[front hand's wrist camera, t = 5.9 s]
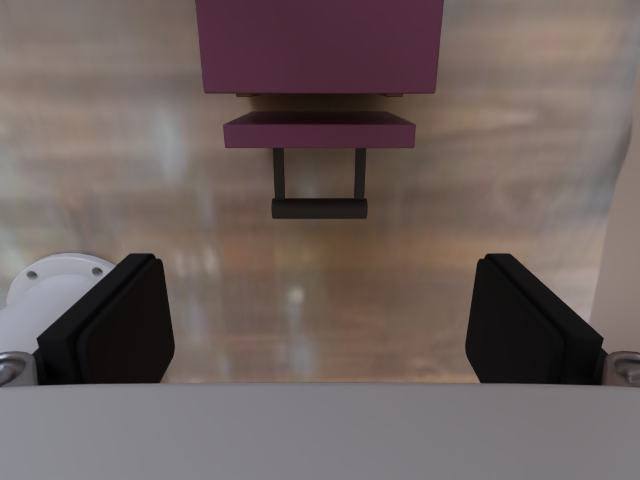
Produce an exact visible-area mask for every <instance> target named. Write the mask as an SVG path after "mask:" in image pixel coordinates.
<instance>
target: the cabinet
mask: <svg viewBox="0 0 640 480" xmlns="http://www.w3.org/2000/svg"><path fill="white" fill-rule="evenodd" d="M195 2H196V12H197V23H198V34H199V45H200V55H201V66H202V77H203V88H204V93H266V94H433V93H435V89H436V78H437V67H438V56H439V46H440V35H441V24H442V14H443V3H444V0H195Z"/></svg>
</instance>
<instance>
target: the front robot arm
mask: <svg viewBox="0 0 640 480" xmlns="http://www.w3.org/2000/svg"><path fill="white" fill-rule="evenodd" d="M603 339H604V338H603V337H602V336H601V335H600V334H598V333H597V332H596V331H595V330H594V329H593V328H592V327H591V326H590V325H588V324H587V323H586V322H585V321H584V320H583V319H582V318H581V317H580V316H579V315H577V314H576V313H575V312H574V311H573V310H572V309H571V308H570V307H569V306H567V305H566V304H565V303H564V302H563V301H562V300H561V299H560V298H559V297H558V296H556V295H555V294H554V293H553V292H552V291H551V290H550V289H549V288H548V287H546V286H545V285H544V284H543V283H542V282H541V281H540V280H539V279H538V278H536V277H535V276H534V275H533V274H532V273H531V272H530V271H529V270H528V269H527V268H525V267H524V266H523V265H522V264H521V263H520V262H519V261H518V260H517V259H515V258H514V257H513V256H512V255H511V254H487V255H486V256H485V258H484V259H479V261H478V263H477V268H476V275H475V282H474V289H473V296H472V302H471V309H470V316H469V323H468V330H467V337H466V344H465V350H466V355H467V358H468V360H469V362H470V364H471V366H472V368H473V369H474V371H475V373H476V375H477V377H478V379H479V381H480V383H358V382H298V383H160V381H161V379H162V377H163V375H164V373H165V371H166V369H167V368H168V366H169V364H170V362H171V360H172V358H173V355H174V350H175V344H174V337H173V330H172V323H171V316H170V309H169V302H168V296H167V289H166V282H165V275H164V268H163V263H162V261H161V259H156V258H155V256H154V255H153V254H129V255H128V256H127V257H126V258H125V259H123V260H122V261H121V262H120V263H119V264H118V265H117V266H116V265H114V264H112V263H110V262H109V261H106V260H103V259H101V258H98V257H95V256H91V255H86V254H81V253H62V254H56V255H51V256H48V257H45V258H43V259H40V260H38V261H37V262H35V263H33V264H32V265H30V266H28V267H27V268H26V269H25V270H23V271H22V272H21V273H20V274H19V275H18V276H17V277H16V279H15V280H14V281H13V283H12V284H11V287H10V289H9V292H8V294H7V302H6V307H4V308H3V309H2V310H0V480H640V353H638V352H630V351H619V352H613V353H611V354H608V353H606V352H605V351H604V350H603V349H602V348H601V346H602V343H603Z"/></svg>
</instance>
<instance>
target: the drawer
mask: <svg viewBox="0 0 640 480" xmlns="http://www.w3.org/2000/svg"><path fill="white" fill-rule="evenodd" d="M261 94H265V93H236V96H237V97H252V96H256V95H261ZM378 95H383V96H387V97H402V96H403V94H378ZM223 128H224V141H225V148H273V160H274V185H275V198H273V199H272V217H273V219H366V218H367V199H366V198H364V188H365V163H366V148H414V142H415V129H416V125H415V124H413V123H411V122H409V121H406V120H404V119H402V118H400V117H398V116H395V115H393V114H391V113H389V112H387V111H252V112H250V113H248V114H246V115H244V116H241V117H239V118H237V119H235V120H233V121H230V122H228V123H226V124H224V125H223ZM284 148H356V153H355V186H354V198H285V181H284Z"/></svg>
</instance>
